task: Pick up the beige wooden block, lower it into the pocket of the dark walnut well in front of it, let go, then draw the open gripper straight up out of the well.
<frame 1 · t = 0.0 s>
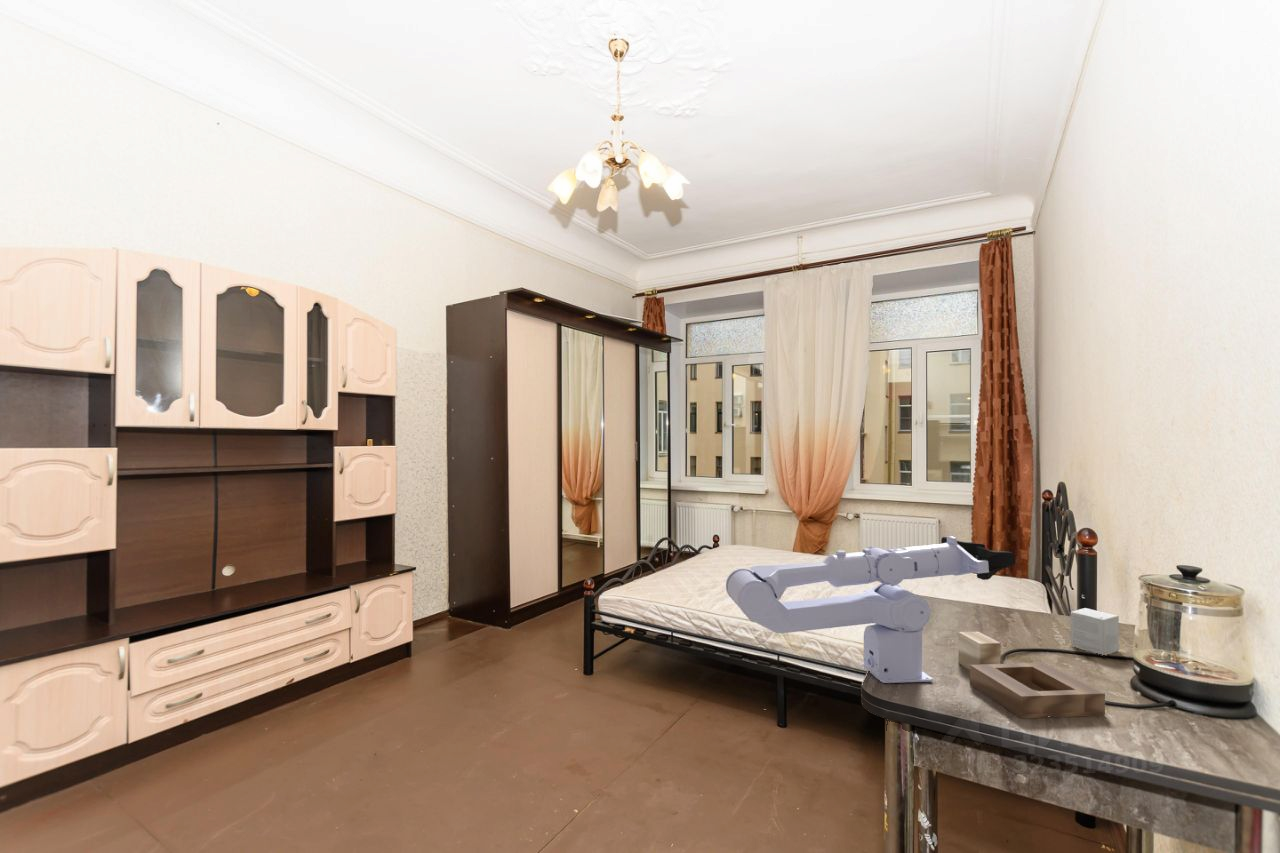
hand: (998, 553, 106), 22 cm above the table, tool horizontal, fingers open, 7 cm apart
well: (1033, 698, 95), on the table
product box: (1094, 650, 117), on the table
beige wooden block: (978, 669, 107), on the table
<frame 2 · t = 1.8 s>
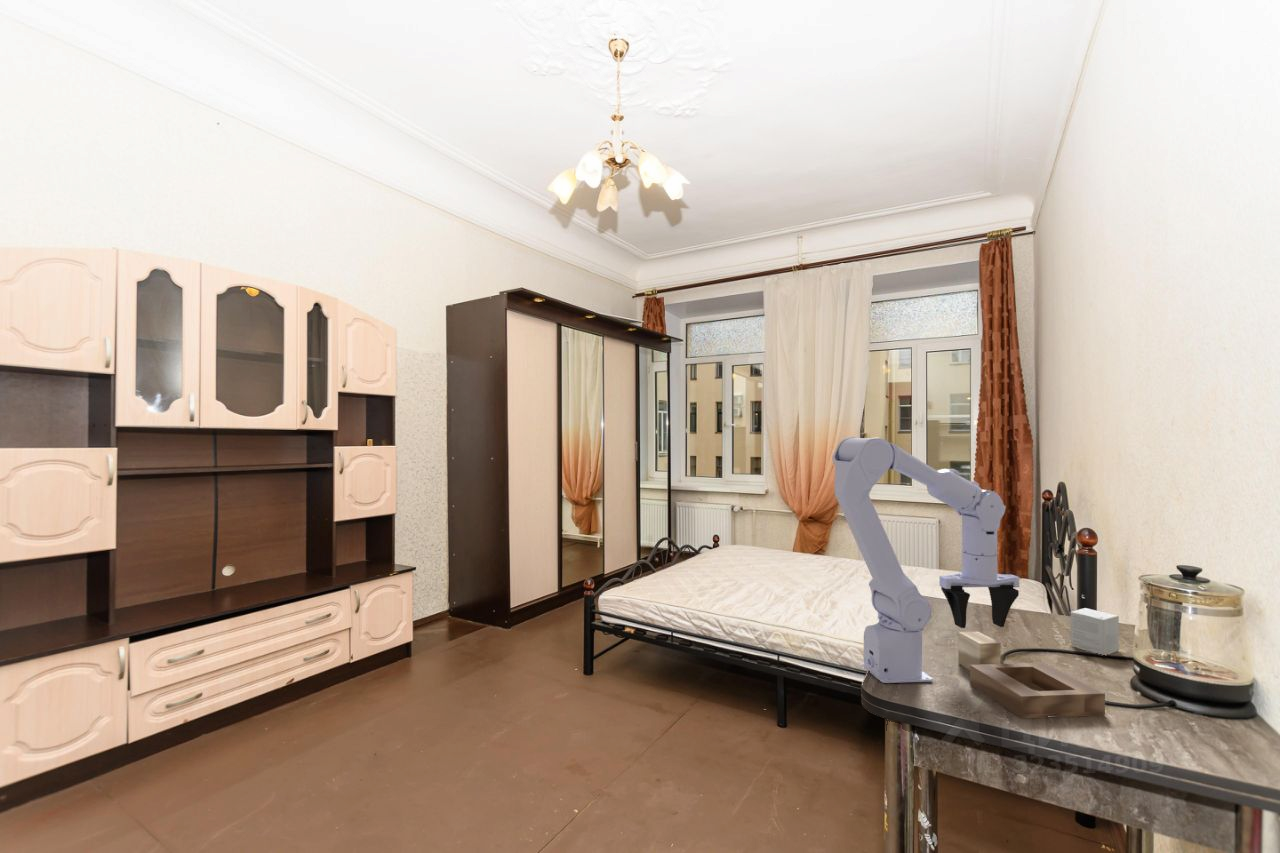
hand: (979, 625, 107), 8 cm above the table, tool pointing down, fingers open, 7 cm apart
nothing on the table moved.
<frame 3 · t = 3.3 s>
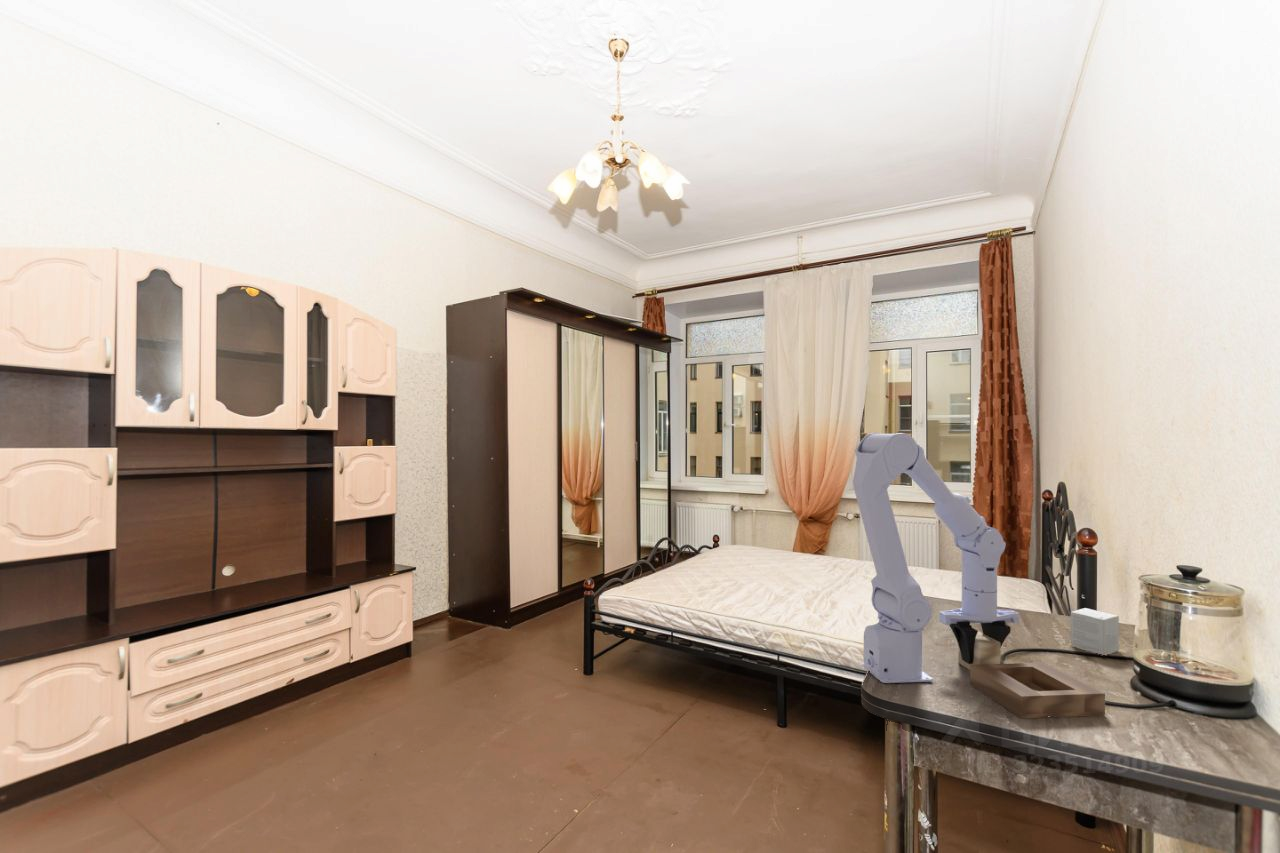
hand: (978, 661, 107), 1 cm above the table, tool pointing down, fingers closed on beige wooden block, 4 cm apart
beige wooden block: (978, 669, 107), on the table, touching gripper
everything else where it was.
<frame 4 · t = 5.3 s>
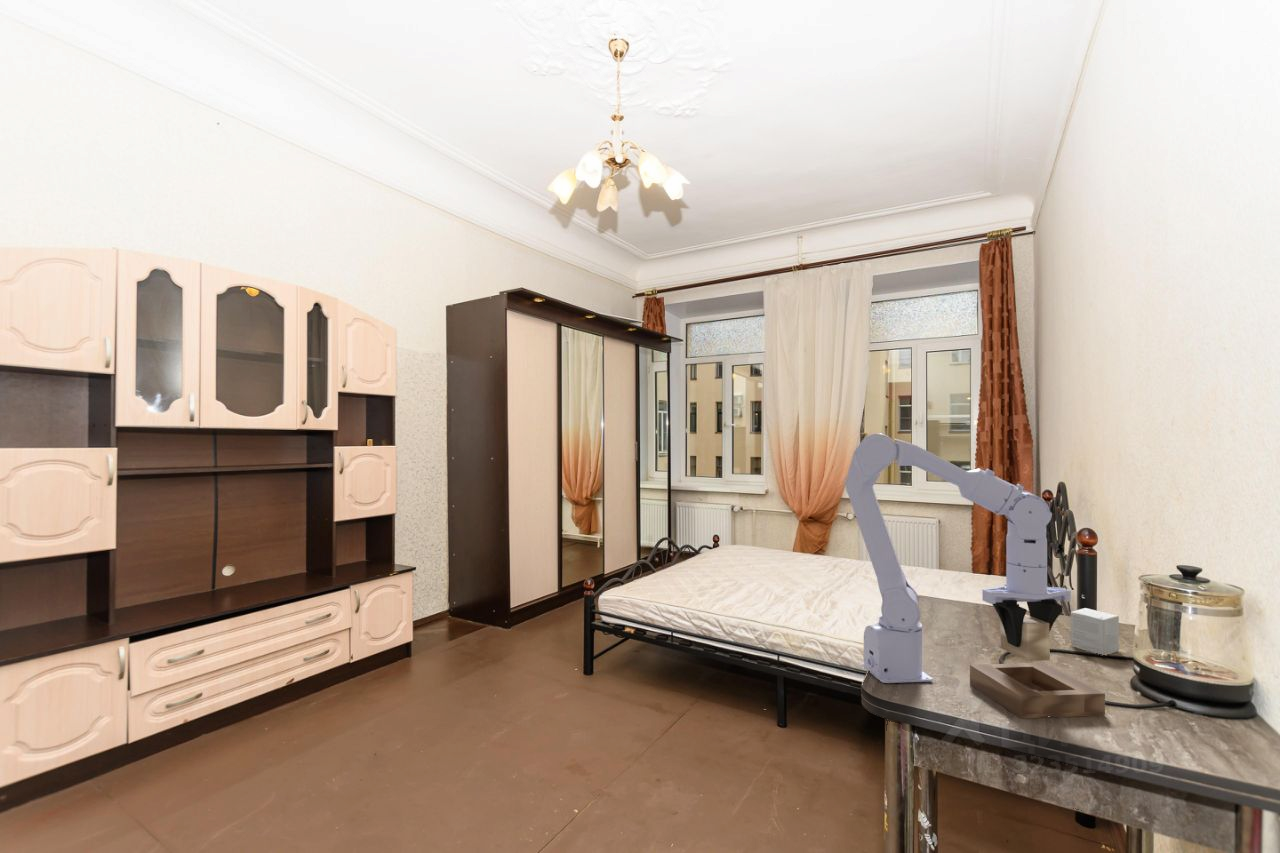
hand: (1026, 644, 96), 8 cm above the table, tool pointing down, fingers closed on beige wooden block, 4 cm apart
beige wooden block: (1024, 654, 97), point 7 cm above the table, touching gripper
everything else where it was.
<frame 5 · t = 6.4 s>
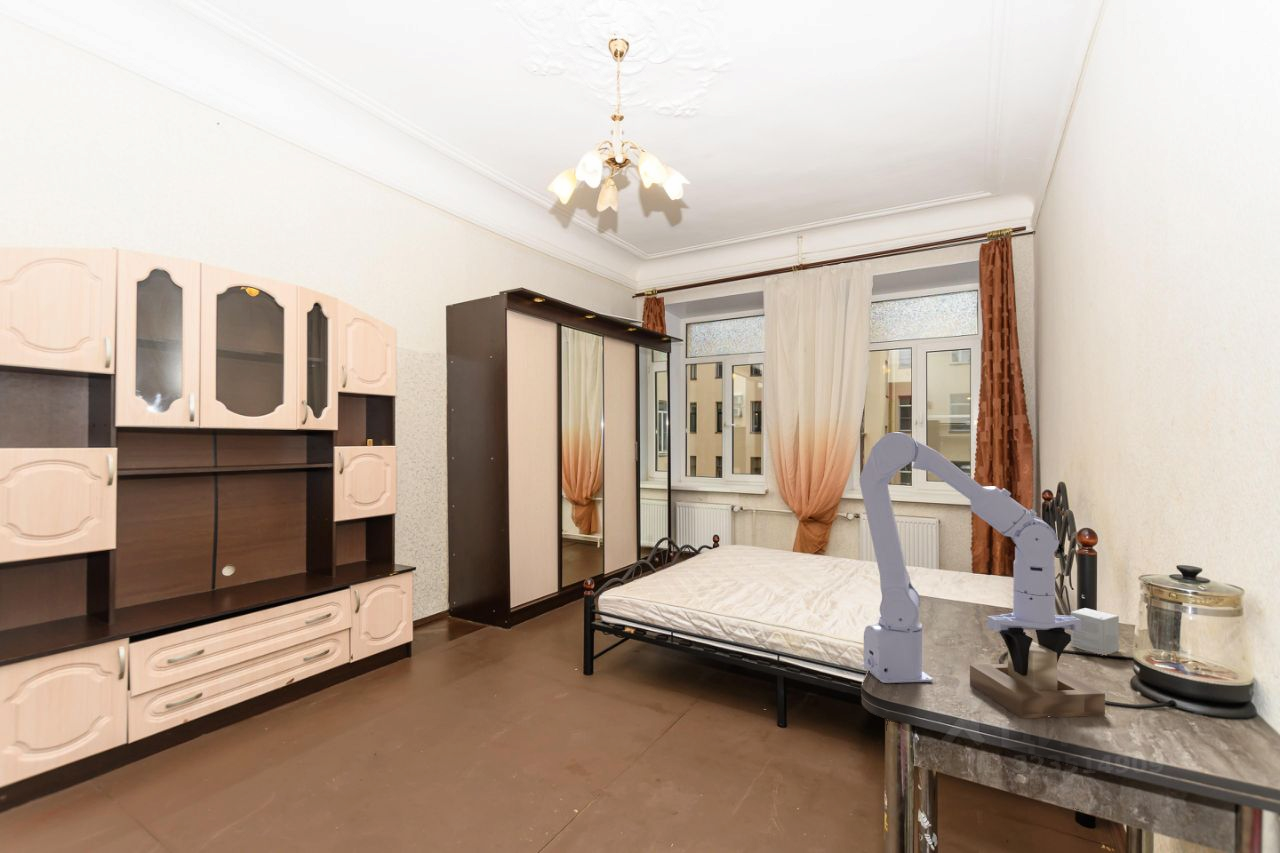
hand: (1033, 673, 95), 4 cm above the table, tool pointing down, fingers closed on beige wooden block, 4 cm apart
beige wooden block: (1032, 682, 95), point 2 cm above the table, touching gripper
everything else where it was.
when the fingers open (4 cm above the table, at t = 7.3 s): beige wooden block drops 2 cm, resting on well.
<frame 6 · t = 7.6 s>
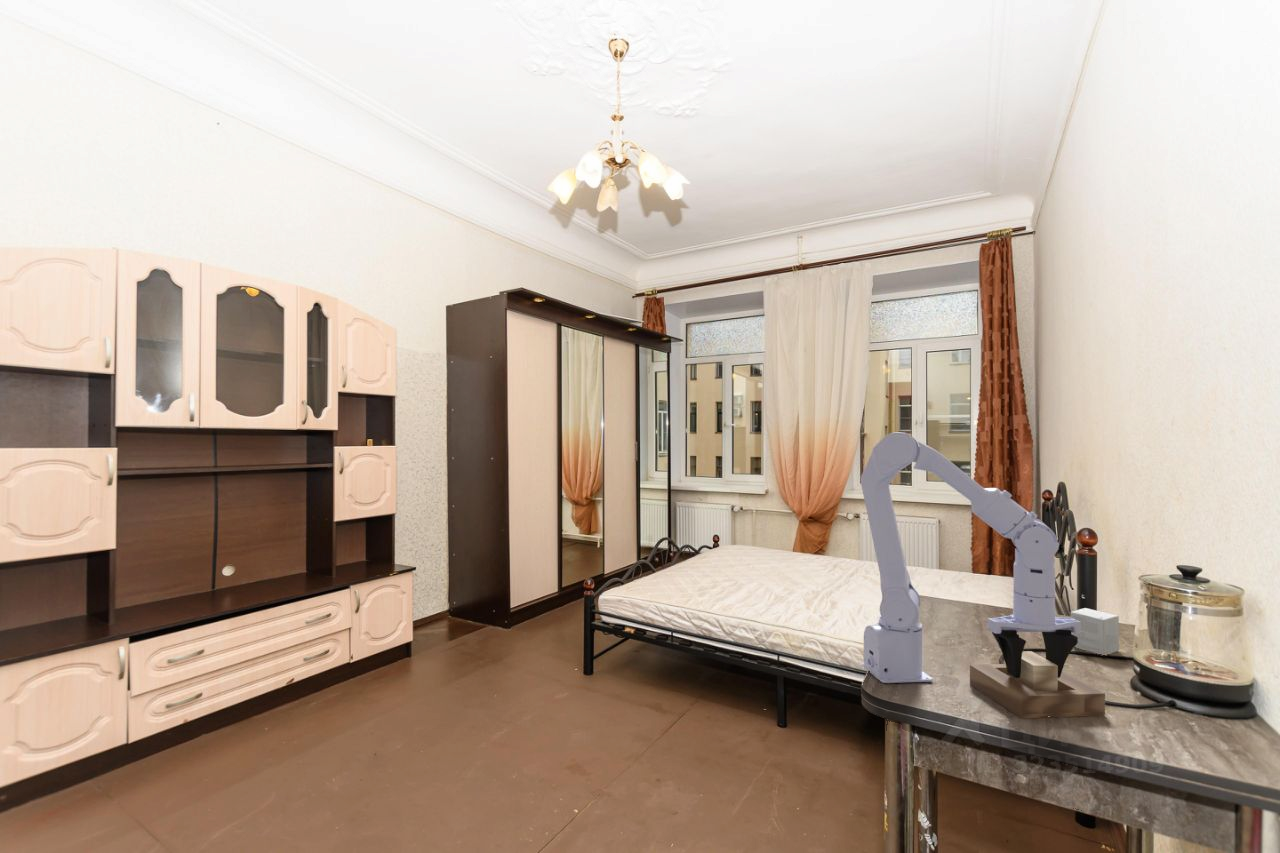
hand: (1033, 675, 95), 4 cm above the table, tool pointing down, fingers open, 6 cm apart
beige wooden block: (1032, 694, 95), point 1 cm above the table, touching well
everything else where it was.
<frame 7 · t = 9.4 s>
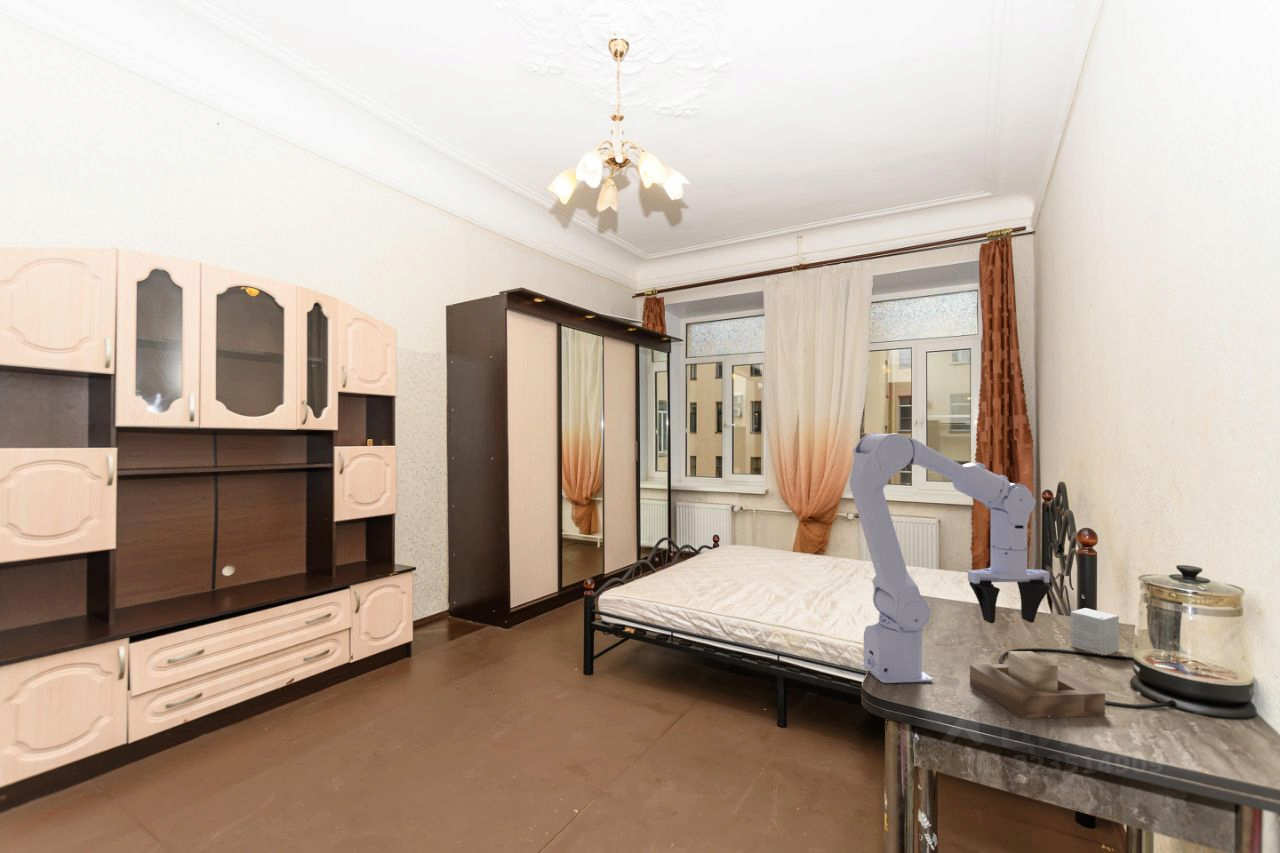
hand: (1008, 621, 105), 9 cm above the table, tool pointing down, fingers open, 7 cm apart
nothing on the table moved.
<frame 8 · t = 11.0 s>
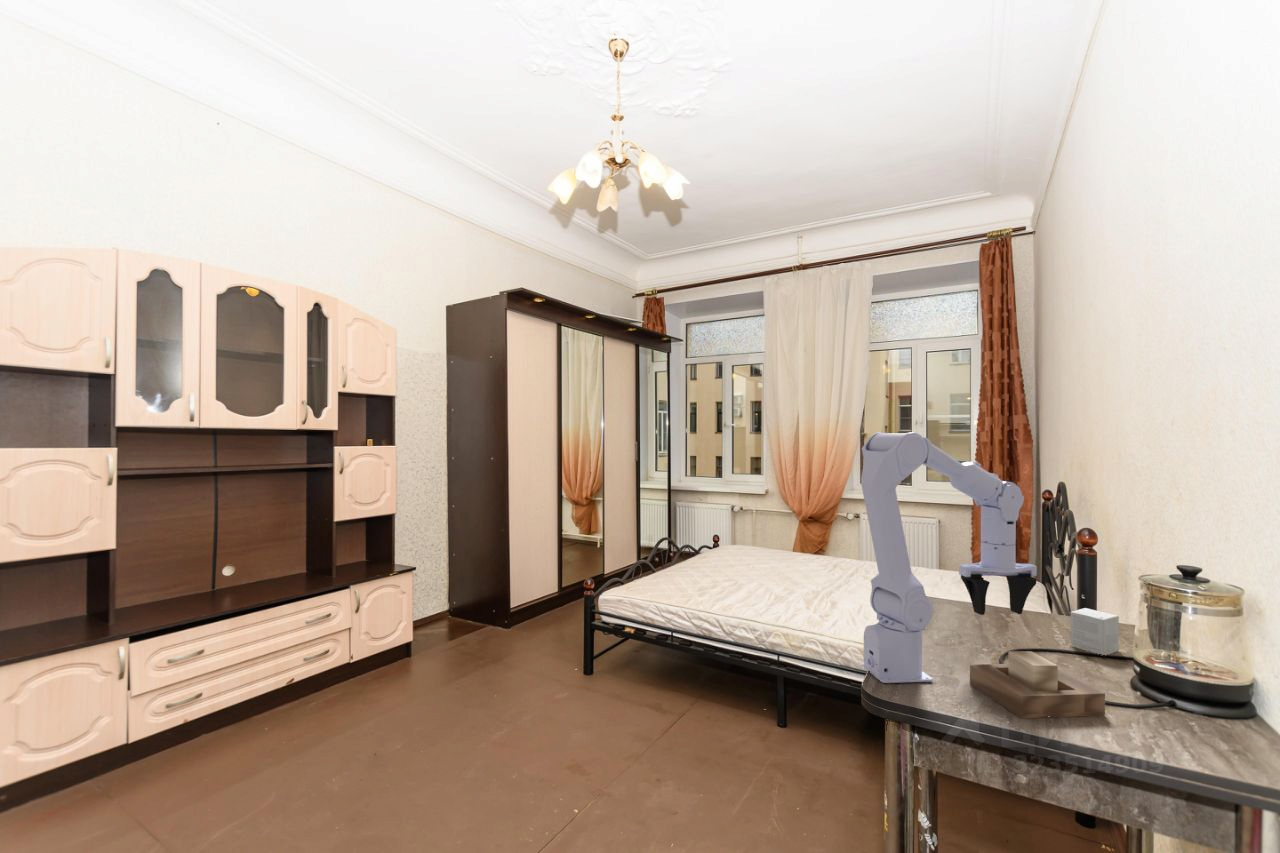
hand: (997, 612, 110), 9 cm above the table, tool pointing down, fingers open, 7 cm apart
nothing on the table moved.
at the end: beige wooden block 0.3 cm off-centre on the well, point 0.6 cm above the well's base; beige wooden block tilted 0°; the gripper is holding nothing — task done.
